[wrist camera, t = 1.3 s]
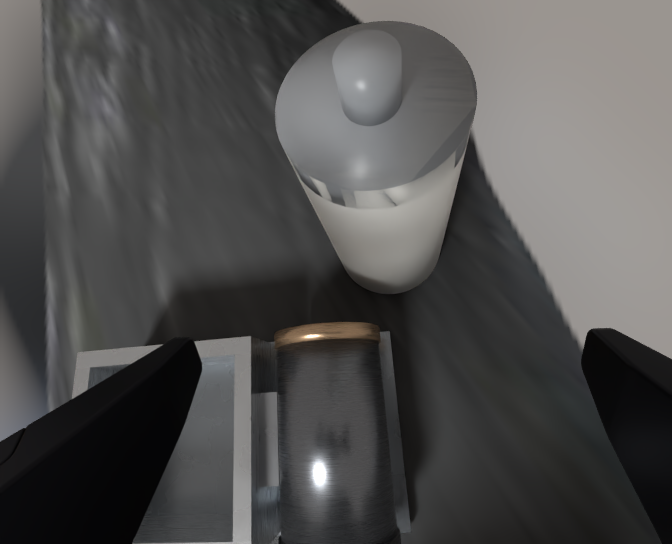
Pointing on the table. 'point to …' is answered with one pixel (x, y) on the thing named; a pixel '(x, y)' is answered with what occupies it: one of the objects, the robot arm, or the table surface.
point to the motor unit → (280, 441)
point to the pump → (380, 145)
